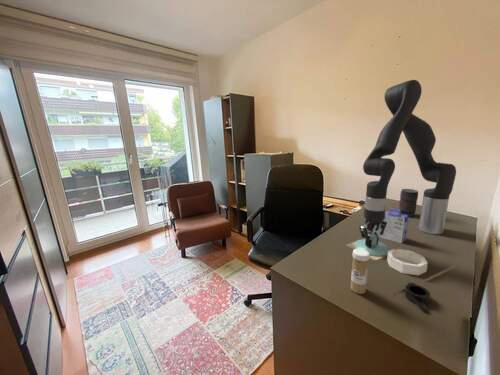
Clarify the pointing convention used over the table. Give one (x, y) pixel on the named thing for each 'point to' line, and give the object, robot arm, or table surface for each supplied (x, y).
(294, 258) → the table surface
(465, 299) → the table surface
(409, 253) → the bowl
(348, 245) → the mat
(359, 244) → the lid
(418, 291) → the duct tape
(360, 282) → the sprinkles bottle
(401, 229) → the ink cartridge box
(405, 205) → the camera lens
